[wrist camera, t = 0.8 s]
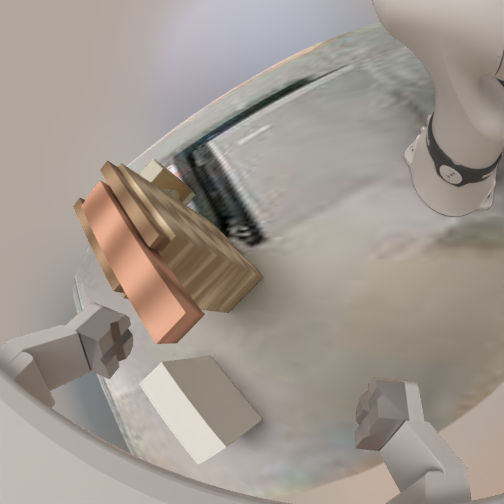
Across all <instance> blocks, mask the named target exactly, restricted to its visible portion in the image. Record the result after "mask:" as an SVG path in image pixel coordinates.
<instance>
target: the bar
mask: <svg viewBox="0 0 504 504" xmlns="http://www.w3.org/2000/svg"><path fill="white" fill-rule="evenodd" d="M81 207H82V209H83V211H84V214H85V216H86V218H87V220H88V222H89V224H90V227H91V229H92V231H93V233H94V235H95V237H96V239H97V241H98V243H99V245H100V247H101V249H102V251H103V253H104V255H105V257H106V259H107V261H108V262H109V264H110V266H111V268H112V270H113V272H114V274H115V276H116V277H117V279H118V281H119V283H120V285H121V286H122V288H123V290H124V292H125V293H126V295H127V297H128V299H129V300H130V302H131V304H132V305H133V307H134V309H135V310H136V312H137V314H138V315H139V317H140V319H141V320H142V322H143V323H144V325H145V327H146V328H147V330H148V331H149V333H150V335H151V336H152V338H153V339H154V341H155V342H156V344H167V343H177V342H178V341H179V340H180V339H181V338H182V337H183V336H184V335H185V334H186V333H187V332H188V331H189V330H190V329H191V328H192V327H193V326H194V325H195V324H196V323H197V322H198V321H199V320H200V319H201V318H202V317H203V316H204V315H205V314H204V313H203V312H202V310H201V309H200V308H199V307H198V305H197V304H196V303H195V301H194V300H193V299H192V297H191V296H190V295H189V293H188V292H187V291H186V289H185V288H184V287H183V285H182V284H181V283H180V281H179V280H178V279H177V277H176V276H175V274H174V273H173V272H172V270H171V269H170V268H169V266H168V265H167V263H166V262H165V261H164V259H163V258H162V256H161V255H160V254H159V252H158V251H157V250H155V249H153V248H150V247H149V246H148V245H147V243H146V242H145V240H144V239H143V237H142V236H141V234H140V233H139V231H138V230H137V228H136V227H135V225H134V224H133V222H132V221H131V219H130V217H129V216H128V214H127V213H126V211H125V210H124V208H123V206H122V205H121V203H120V202H119V200H118V198H117V197H116V195H115V194H114V192H113V190H112V189H111V187H110V186H109V185H107V184H105V183H104V182H102V181H99V183H98V184H97V185H96V187H95V188H94V190H93V191H92V192H91V194H90V195H89V196H88V198H87V199H86V200H85V202H84V203H83V204H82V206H81Z"/></svg>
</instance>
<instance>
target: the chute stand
mask: <svg viewBox="0 0 504 504" xmlns="http://www.w3.org/2000/svg"><path fill="white" fill-rule="evenodd" d="M101 172H102V174H103V175H104V177H105V179H106V183H105V184H107V185H109V186H110V187H111V189H112V190H113V192H114V194H115V195H116V197H117V198H118V200H119V202H120V203H121V205H122V206H123V208H124V210H125V211H126V213H127V214H128V216H129V217H130V219H131V221H132V222H133V224H134V225H135V227H136V228H137V230H138V231H139V233H140V234H141V236H142V237H143V239H144V240H145V242H146V243H147V245H148V246H149V247H150V248H153V249H155V250H157V251H158V252H159V254H160V255H161V256H162V258H163V259H164V261H165V262H166V263H167V265H168V266H169V268H170V269H171V270H172V272H173V273H174V274H175V276H176V277H177V279H178V280H179V281H180V283H181V284H182V285H183V287H184V288H185V289H186V291H187V292H188V293H189V295H190V296H191V297H192V299H193V300H194V301H195V303H196V304H197V305H198V307H199V308H200V309H201V310H209V311H218V312H226V313H228V312H229V311H230V310H231V309H232V308H233V307H234V306H235V305H236V304H237V303H238V302H239V301H240V300H241V299H242V298H243V297H244V296H245V295H246V294H247V293H248V292H249V291H250V290H251V289H252V288H253V287H254V286H255V285H256V284H257V283H258V282H259V281H260V280H261V279H262V278H263V276H262V275H261V274H260V273H259V272H258V271H257V270H256V269H255V268H254V266H253V265H252V264H251V263H250V262H249V261H248V260H247V259H246V258H245V257H244V256H243V255H242V254H241V252H240V251H239V250H238V249H237V248H236V247H235V246H234V245H233V244H232V243H231V242H230V241H229V240H228V238H227V237H226V236H225V235H224V234H223V233H222V232H221V231H220V230H219V229H218V228H217V227H216V226H215V224H214V223H212V222H211V221H209V220H208V219H206V218H204V217H203V216H201V215H200V214H198V213H197V212H195V211H194V210H192V209H191V208H189V207H188V206H186V205H185V204H183V203H182V202H180V201H178V200H177V199H175V198H174V197H172V196H171V195H169V194H168V193H166V192H165V191H163V190H162V189H160V188H159V187H157V186H155V185H154V184H152V183H151V182H149V181H148V180H146V179H145V178H143V177H142V176H140V175H139V174H137V173H136V172H134V171H132V170H131V169H129V168H128V167H126V166H125V165H123V164H120V165H119V166H118V167H116V166H115V165H113V164H112V163H110V162H109V161H107V162H106V163H105V165H104V166H103V167H102V168H101ZM84 202H85V200H83V199H81V198H79V200H78V201H77V202H76V204H75V205H74V209H75V211H76V213H77V216H78V218H79V221H80V223H81V225H82V227H83V230H84V232H85V234H86V236H87V238H88V241H89V243H90V245H91V247H92V249H93V251H94V253H95V256H96V258H97V260H98V262H99V264H100V266H101V268H102V270H103V272H104V274H105V276H106V277H107V279H108V281H109V283H110V285H111V287H112V289H113V291H116V292H120V293H121V295H122V296H123V298H126V299H128V297H127V295H126V293H125V292H124V290H123V288H122V286H121V285H120V283H119V281H118V279H117V277H116V276H115V274H114V272H113V270H112V268H111V266H110V264H109V262H108V261H107V259H106V257H105V255H104V253H103V251H102V249H101V247H100V245H99V243H98V241H97V239H96V237H95V235H94V233H93V231H92V229H91V227H90V224H89V222H88V220H87V218H86V216H85V214H84V211H83V209H82V207H81V206H82V204H83V203H84Z"/></svg>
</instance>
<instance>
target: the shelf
mask: <svg viewBox="0 0 504 504" xmlns="http://www.w3.org/2000/svg"><path fill="white" fill-rule="evenodd" d="M140 386H141V388H142V389H143V391H144V392H145V394H146V395H147V397H148V398H149V400H150V401H151V403H152V404H153V406H154V407H155V409H156V410H157V412H158V413H159V414H160V416H161V417H162V419H163V420H164V421H165V423H166V424H167V426H168V427H169V428H170V430H171V431H172V432H173V434H174V435H175V436H176V438H177V439H178V440H179V442H180V443H181V444H182V445H183V447H184V448H185V449H186V451H187V452H188V453H189V454H190V456H191V457H192V458H193V459H194V460H195V462H196V463H197V464H198V465H199V464H201V463H202V462H204V461H205V460H207V459H209V458H210V457H212V456H213V455H215V454H216V453H218V452H219V451H221V450H222V449H224V448H225V447H227V446H228V445H230V444H231V443H232V442H234V441H235V440H236V439H238V438H239V437H240V436H242V435H243V434H244V433H246V432H247V431H248V430H250V429H251V428H252V427H253V426H255V425H256V424H257V423H258V422H260V421H261V420H262V417H261V416H260V415H259V414H258V413H257V412H256V411H255V409H254V408H253V407H252V406H251V405H250V404H249V402H248V401H247V400H246V399H245V398H244V397H243V395H242V394H241V393H240V392H239V391H238V389H237V388H236V387H235V386H234V385H233V383H232V382H231V381H230V380H229V378H228V377H227V376H226V375H225V374H224V372H223V371H222V370H221V369H220V367H219V366H218V365H217V363H216V362H215V361H214V360H213V358H212V357H211V356H205V357H198V358H191V359H183V360H175V361H166V362H161V363H160V364H159V365H158V366H157V367H156V368H155V369H154V370H153V371H152V372H151V373H150V374H149V375H148V376H147V377H146V378H145V379H144V380H143V381H142V382H141V383H140Z"/></svg>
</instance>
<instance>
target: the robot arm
mask: <svg viewBox="0 0 504 504" xmlns="http://www.w3.org/2000/svg"><path fill="white" fill-rule="evenodd" d="M372 3H373V6H374V9H375V12H376V14H377V16H378V18H379V20H380V22H381V23H382V25H383V26H384V28H385V29H386V30H387V31H388V32H389V34H390V35H391V36H393V37H394V38H396V39H397V40H398V41H400V42H401V43H403V44H404V45H405V46H406V47H407V48H409V49H410V50H411V51H412V52H413V53H414V54H415V55H416V56H417V58H418V59H419V60H420V61H421V62H422V64H423V65H424V67H425V68H426V70H427V71H428V73H429V75H430V77H431V79H432V81H433V84H434V87H435V107H434V112H433V114H430V115H429V116H428V118H427V121H426V123H427V124H428V126H427V127H425V126H422V128H421V130H420V132H421V134H420V135H418V136H417V138H416V139H415V140H414V142H413V143H412V144H411V145H410V146H409V147H408V148H407V149H406V151H405V153H404V159H405V161H406V163H407V164H408V166H409V167H410V169H411V174H412V180H413V184H414V187H415V189H416V191H417V193H418V195H419V196H420V197H421V199H422V200H423V201H424V202H425V203H426V204H427V205H428V206H429V207H430V208H432V209H433V210H435V211H437V212H439V213H441V214H444V215H447V216H463V215H466V214H468V213H470V212H472V211H474V210H486V209H489V208H490V207H491V205H492V202H493V195H494V188H495V184H496V181H495V179H496V169H497V166H498V164H499V161H500V158H501V154H502V150H503V149H504V87H503V86H502V85H501V84H500V82H499V81H498V80H497V79H496V78H498V79H500V80H502V81H504V0H372ZM495 77H496V78H495ZM412 151H413V152H412ZM487 197H488V198H487ZM130 325H131V323H130V318H129V317H128V316H126V315H124V314H122V313H119V312H117V311H114V310H112V309H109V308H107V307H104V306H101V305H99V304H97V303H91V304H89V305H88V306H87V307H86V308H85V309H84V310H82V311H81V312H80V313H79V314H78V315H77V316H76V317H74V319H72V320H71V321H70V322H69V323H68V324H67V325H66V326H63V325H59V326H56V327H53V328H49V329H45V330H42V331H38V332H35V333H31V334H28V335H24V336H20V337H17V338H13V339H10V340H9V341H8V342H7V343H5V344H4V345H3V346H2V347H1V348H0V504H290V503H284V502H278V501H273V500H268V499H263V498H258V497H254V496H250V495H245V494H241V493H237V492H233V491H230V490H226V489H223V488H219V487H216V486H212V485H209V484H206V483H203V482H200V481H197V480H194V479H191V478H188V477H185V476H182V475H180V474H177V473H174V472H172V471H169V470H167V469H164V468H162V467H159V466H157V465H155V464H152V463H150V462H148V461H145V460H143V459H141V458H139V457H136V456H134V455H132V454H130V453H128V452H126V451H124V450H122V449H120V448H118V447H116V446H114V445H112V444H110V443H108V442H106V441H104V440H102V439H101V438H99V437H97V436H95V435H94V434H92V433H90V432H88V431H86V430H85V429H83V428H81V427H80V426H78V425H77V424H75V423H73V422H72V421H70V420H69V419H67V418H65V417H64V416H62V415H60V414H59V413H58V412H56V411H55V410H53V409H52V407H53V406H54V405H55V400H54V398H53V396H52V394H51V392H50V391H51V390H53V389H55V388H57V387H59V386H61V385H64V384H66V383H68V382H70V381H72V380H74V379H76V378H79V377H81V376H83V375H85V374H87V373H89V372H91V371H93V372H95V373H97V374H99V375H101V376H104V377H106V378H108V379H110V378H111V377H112V375H113V374H114V373H115V372H116V370H117V369H118V368H119V361H121V360H124V359H126V358H127V357H128V355H129V354H130V352H131V350H132V347H133V335H132V333H131V332H130V330H129V329H128V328H129V327H130ZM90 370H91V371H90ZM356 421H357V423H358V424H359V425H360V426H359V427H358V429H357V430H356V434H355V448H357V449H365V450H375V451H379V454H380V455H381V457H382V459H383V461H384V463H385V464H386V466H387V468H388V470H389V472H390V474H391V475H392V477H393V479H394V481H395V483H396V484H397V486H398V488H399V490H400V492H401V493H400V494H398V495H397V496H396V497H394V498H393V499H392V500H390V501H389V502H387V503H386V504H504V493H503V494H500V495H495V496H492V497H487V498H484V499H479V500H474V501H471V493H470V485H469V478H468V471H467V467H466V466H465V464H464V463H463V462H462V461H461V460H460V458H459V457H458V456H457V455H456V454H455V452H454V451H453V450H452V449H451V448H450V447H449V445H448V444H447V443H446V442H445V441H444V439H443V438H442V437H441V436H440V435H439V434H438V432H437V431H436V430H435V429H434V428H433V426H432V425H431V424H430V423H429V422H425V420H424V414H423V409H422V403H421V398H420V393H419V388H418V384H417V383H416V382H409V381H399V380H390V379H382V378H375V377H374V378H373V379H371V381H370V383H369V384H368V392H366V393H364V394H363V395H362V397H361V399H360V400H359V404H358V407H357V412H356Z"/></svg>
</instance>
